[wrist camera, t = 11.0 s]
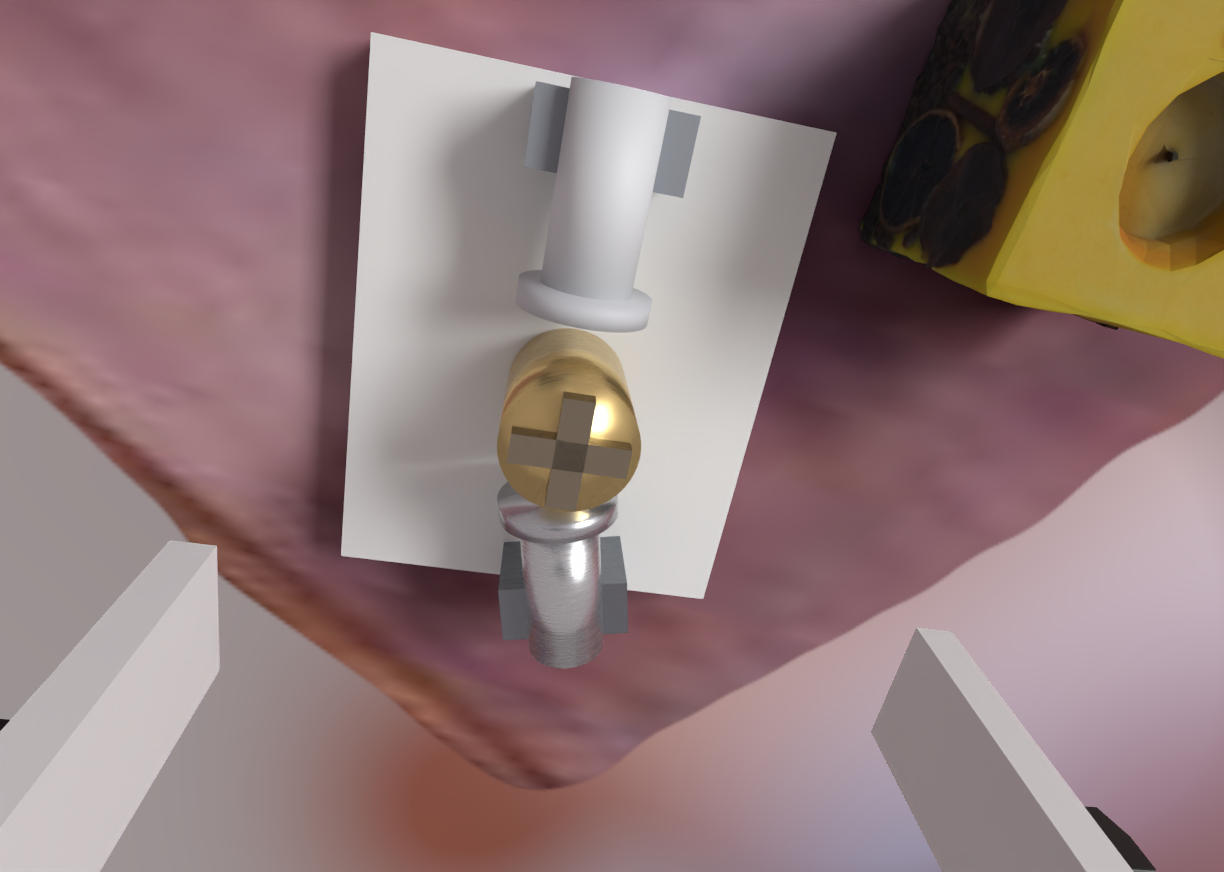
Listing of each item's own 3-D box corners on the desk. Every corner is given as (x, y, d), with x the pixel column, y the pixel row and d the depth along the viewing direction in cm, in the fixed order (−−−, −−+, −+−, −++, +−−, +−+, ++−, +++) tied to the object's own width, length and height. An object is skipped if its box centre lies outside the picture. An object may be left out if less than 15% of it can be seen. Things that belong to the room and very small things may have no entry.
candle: (1199, 42, 28) (1517, 8, 19) (1068, 301, 31) (1278, 379, 22) (958, -44, 26) (1177, -128, 17) (850, 241, 30) (980, 298, 21)
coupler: (516, 319, 28) (505, 376, 22) (635, 338, 28) (657, 399, 22) (501, 429, 30) (487, 511, 24) (613, 445, 30) (627, 529, 24)
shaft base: (384, 38, 26) (319, 9, 19) (818, 131, 28) (907, 137, 21) (352, 531, 33) (298, 643, 26) (695, 573, 35) (730, 688, 28)
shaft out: (496, 455, 30) (483, 527, 25) (618, 450, 30) (631, 519, 25) (508, 594, 33) (499, 685, 28) (620, 587, 33) (633, 676, 28)
